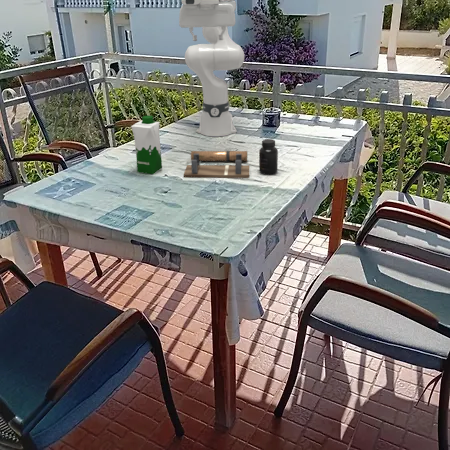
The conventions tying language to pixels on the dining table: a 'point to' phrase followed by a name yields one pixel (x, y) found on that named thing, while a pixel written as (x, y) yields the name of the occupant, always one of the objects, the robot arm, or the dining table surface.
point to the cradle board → (217, 171)
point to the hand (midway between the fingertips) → (207, 40)
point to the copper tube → (219, 155)
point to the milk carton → (147, 145)
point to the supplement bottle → (268, 157)
